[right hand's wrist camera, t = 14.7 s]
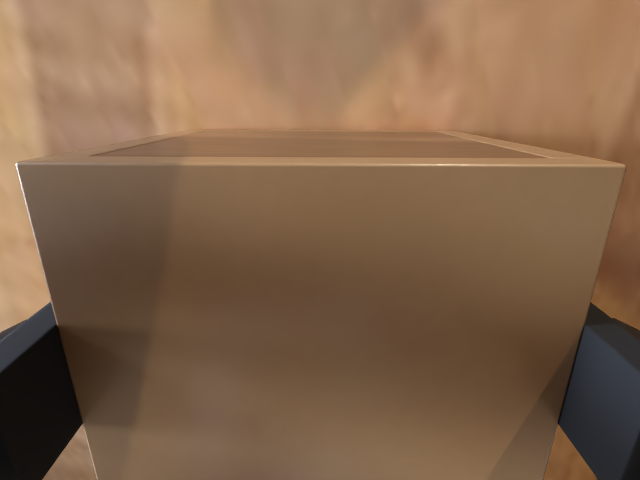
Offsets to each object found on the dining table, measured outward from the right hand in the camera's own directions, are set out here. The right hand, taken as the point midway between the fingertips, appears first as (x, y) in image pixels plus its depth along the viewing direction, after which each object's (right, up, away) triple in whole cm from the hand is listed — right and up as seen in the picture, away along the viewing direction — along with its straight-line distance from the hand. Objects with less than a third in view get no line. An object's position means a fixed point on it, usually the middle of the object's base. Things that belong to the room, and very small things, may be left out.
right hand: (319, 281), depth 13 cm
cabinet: (0, -4, +7) cm, 8 cm away
